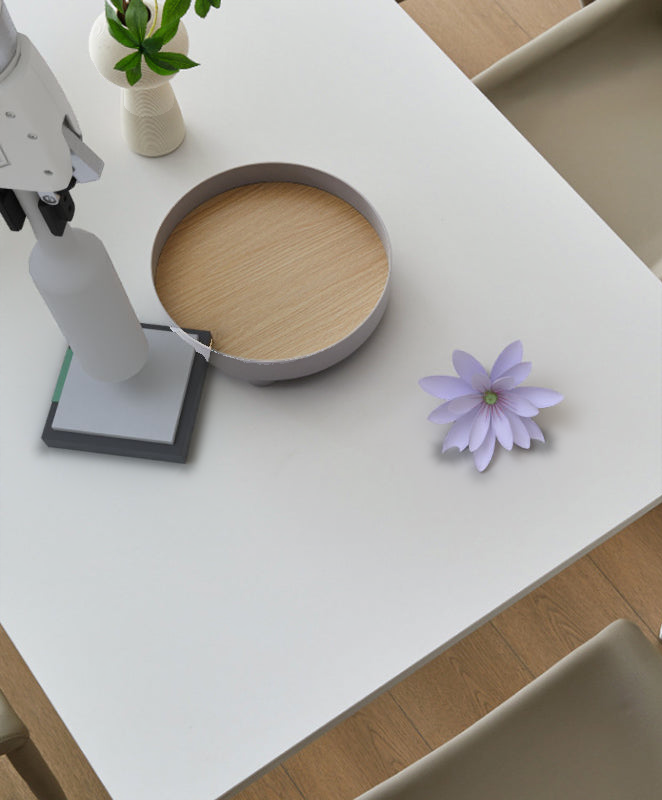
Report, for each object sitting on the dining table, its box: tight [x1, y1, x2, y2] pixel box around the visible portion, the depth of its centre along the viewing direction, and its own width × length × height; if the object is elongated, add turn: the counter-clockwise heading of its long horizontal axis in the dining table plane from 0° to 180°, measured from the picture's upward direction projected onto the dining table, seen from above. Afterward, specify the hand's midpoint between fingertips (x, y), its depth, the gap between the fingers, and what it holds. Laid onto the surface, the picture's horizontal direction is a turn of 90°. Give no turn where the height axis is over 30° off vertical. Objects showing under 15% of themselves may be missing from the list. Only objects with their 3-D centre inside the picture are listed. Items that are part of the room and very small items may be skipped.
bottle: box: [13, 189, 149, 383], centre depth 84 cm, size 7×7×28 cm
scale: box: [40, 322, 214, 465], centre depth 103 cm, size 14×14×3 cm
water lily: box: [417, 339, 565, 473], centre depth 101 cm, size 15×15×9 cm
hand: (42, 217), depth 76 cm, fingers closed on bottle, 2 cm apart
